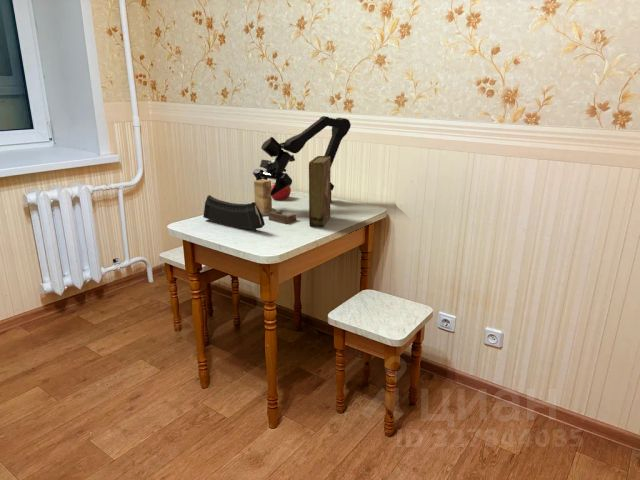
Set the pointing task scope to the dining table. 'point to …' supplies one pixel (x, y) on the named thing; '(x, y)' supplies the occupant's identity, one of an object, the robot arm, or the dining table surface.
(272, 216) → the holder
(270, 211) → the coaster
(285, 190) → the pomegranate
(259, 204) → the oak block
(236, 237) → the dining table surface
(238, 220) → the magazine
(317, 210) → the book
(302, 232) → the dining table surface
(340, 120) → the robot arm
